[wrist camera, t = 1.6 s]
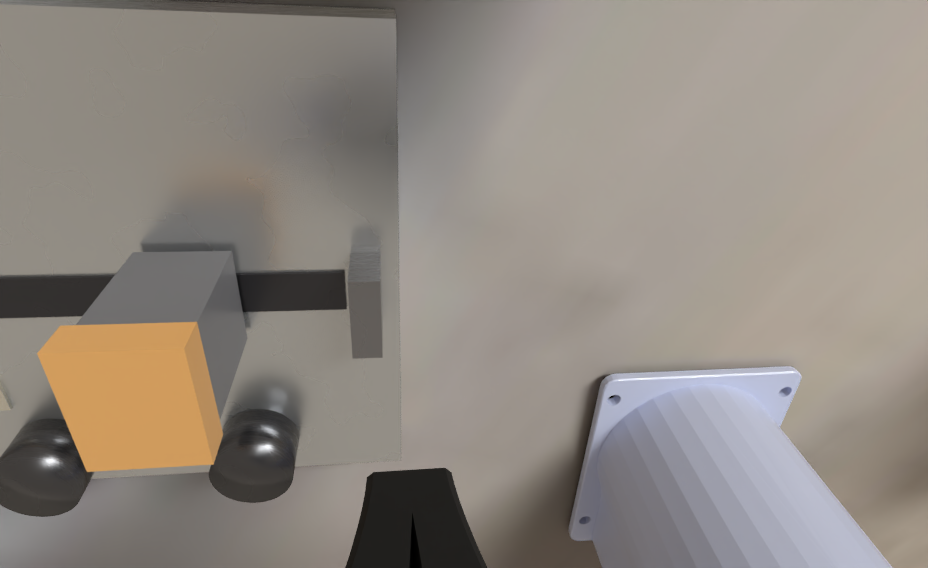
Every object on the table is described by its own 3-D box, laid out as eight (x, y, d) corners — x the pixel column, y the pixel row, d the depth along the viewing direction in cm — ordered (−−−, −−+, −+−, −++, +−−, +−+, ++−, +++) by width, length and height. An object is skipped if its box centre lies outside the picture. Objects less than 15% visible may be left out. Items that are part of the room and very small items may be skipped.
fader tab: (252, 344, 16) (213, 464, 13) (155, 347, 16) (86, 472, 12) (234, 243, 15) (184, 348, 11) (126, 245, 14) (37, 353, 11)
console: (399, 419, 22) (403, 499, 19) (-105, 444, 19) (-196, 539, 16) (394, 9, 14) (397, 29, 11) (-407, -23, 12) (-670, -9, 9)
